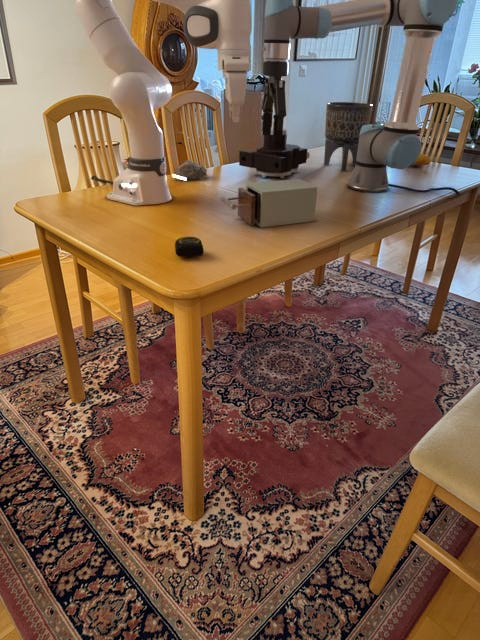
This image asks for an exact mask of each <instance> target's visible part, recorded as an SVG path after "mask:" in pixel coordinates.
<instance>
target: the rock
mask: <svg viewBox="0 0 480 640" xmlns="http://www.w3.org/2000/svg"><path fill="white" fill-rule="evenodd" d="M175 175H177V176H181V177H185V178H186V180H182V179H179V178H175V179H176V180H180V181H187V182H189V181H196V180H197V181H198V180H200V179H201V178H204V177H205V176H206V177H208V174H207V169H206V168H205V167H204V166H203V165H201V164H199V163H196V162H193V161H191V160H188V159H185V161H184V162H183V163H181V165H180V166H178V167H177V168H176V172H175Z"/></svg>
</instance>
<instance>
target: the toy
mask: <svg viewBox="0 0 480 640" xmlns="http://www.w3.org/2000/svg"><path fill="white" fill-rule="evenodd" d="M431 163H432V160H431V158H429V157H427V156H426V154H425V153H422V152H420V155H419V157H418V158H417V160H416V161H415V162H414V163H413V164H412V165H414V166H415V167H418V168H419V167H424V166H427V165H429V164H431Z"/></svg>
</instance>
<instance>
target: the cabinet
mask: <svg viewBox="0 0 480 640" xmlns="http://www.w3.org/2000/svg"><path fill="white" fill-rule="evenodd" d="M247 188H251V189H252V190H254V191H256V192H257V193H259V194H261V207H260V222H257V221H255V223H254V225H256V226H258V227H259V228H267V227H268V228H270V227H277V226H284V225H285V226H286V225H291V224H301V223H308V222H314V221H315V216H316V215H315V214H316V206H317V205H316V204H317V196H318V195H317V194H318V186H316V185H314V184H312V183H310V182H308V181H305V180H302V179H300V178H295V179H283V180H281V179H280V180H271V181H270V180H269V181H259V182H249V183H246V189H247Z"/></svg>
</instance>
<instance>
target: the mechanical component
mask: <svg viewBox="0 0 480 640" xmlns="http://www.w3.org/2000/svg"><path fill="white" fill-rule="evenodd" d="M273 128H274V120H272V123H271V135H263V145H262V146H258V147H257V148H256V151H250V150H245V149H241V150H239V153H238V154H239V155H238V157H239V159H238V166H240V167H245V168H250V169H255V173H256V174H257V175H261V177H262V178H267V177H279V178H280V179H285V176H291V175H292V173H298V171H299V167H300V165H303V164H304V165H305V164H307V160H309V158H310V156H311V154H310V152H309V151H308V148H304V147H301V146H299V145H297V144H290V143H287V138H288V129H287V128H286V127H283V134H282V142H273Z"/></svg>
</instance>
